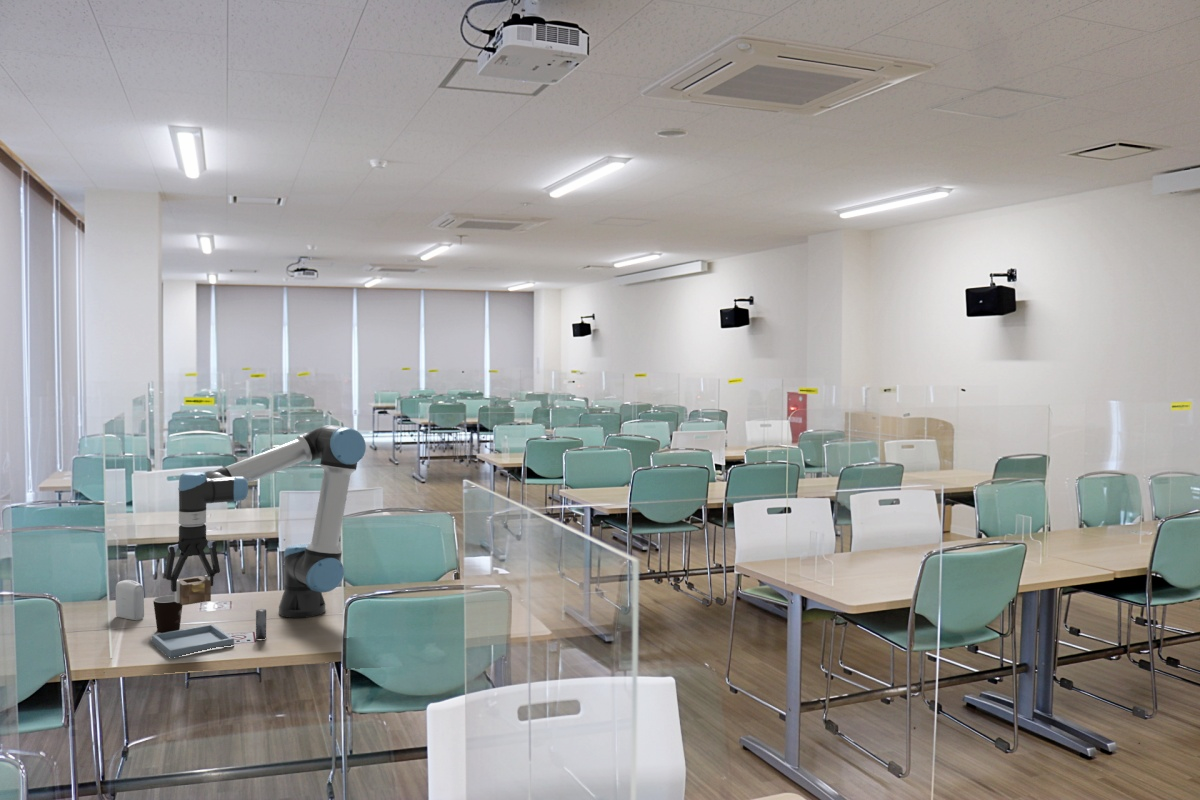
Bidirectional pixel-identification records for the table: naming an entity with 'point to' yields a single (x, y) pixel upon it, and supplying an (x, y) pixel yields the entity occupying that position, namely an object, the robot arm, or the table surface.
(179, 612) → the coffee mug
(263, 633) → the post
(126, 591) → the photo printer
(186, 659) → the table surface
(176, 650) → the tray
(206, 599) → the collar
